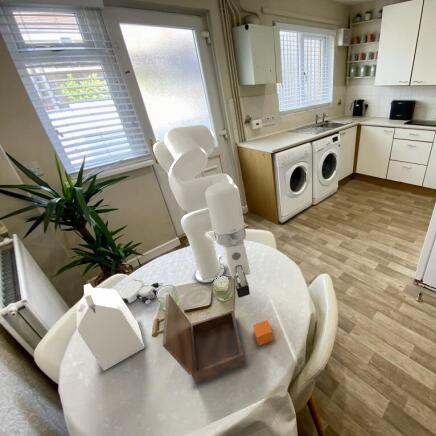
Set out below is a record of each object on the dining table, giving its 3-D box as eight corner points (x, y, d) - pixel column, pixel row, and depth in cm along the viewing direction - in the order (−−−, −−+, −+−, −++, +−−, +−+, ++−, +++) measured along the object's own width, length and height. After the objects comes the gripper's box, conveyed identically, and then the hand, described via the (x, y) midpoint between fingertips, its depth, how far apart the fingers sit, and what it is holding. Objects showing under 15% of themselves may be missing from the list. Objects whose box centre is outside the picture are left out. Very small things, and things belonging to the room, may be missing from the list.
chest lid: (169, 293, 73) (152, 300, 72) (165, 344, 58) (144, 353, 57) (190, 323, 81) (175, 330, 80) (192, 373, 67) (174, 383, 66)
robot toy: (166, 286, 106) (132, 284, 106) (163, 279, 103) (129, 277, 104) (150, 309, 95) (113, 307, 95) (147, 301, 93) (109, 299, 93)
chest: (235, 320, 88) (233, 310, 86) (245, 365, 74) (243, 355, 71) (193, 334, 84) (190, 324, 81) (196, 385, 69) (191, 375, 67)
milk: (144, 347, 80) (112, 291, 67) (103, 370, 74) (60, 314, 61) (138, 323, 89) (108, 270, 76) (100, 342, 82) (61, 288, 70)
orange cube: (268, 329, 84) (267, 319, 82) (273, 341, 80) (271, 331, 78) (255, 334, 83) (253, 324, 80) (258, 346, 79) (257, 337, 76)
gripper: (254, 247, 54) (261, 301, 62) (237, 214, 68) (245, 261, 76) (219, 257, 51) (232, 311, 60) (210, 220, 65) (221, 268, 74)
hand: (240, 283), depth 68 cm, fingers open, 9 cm apart
